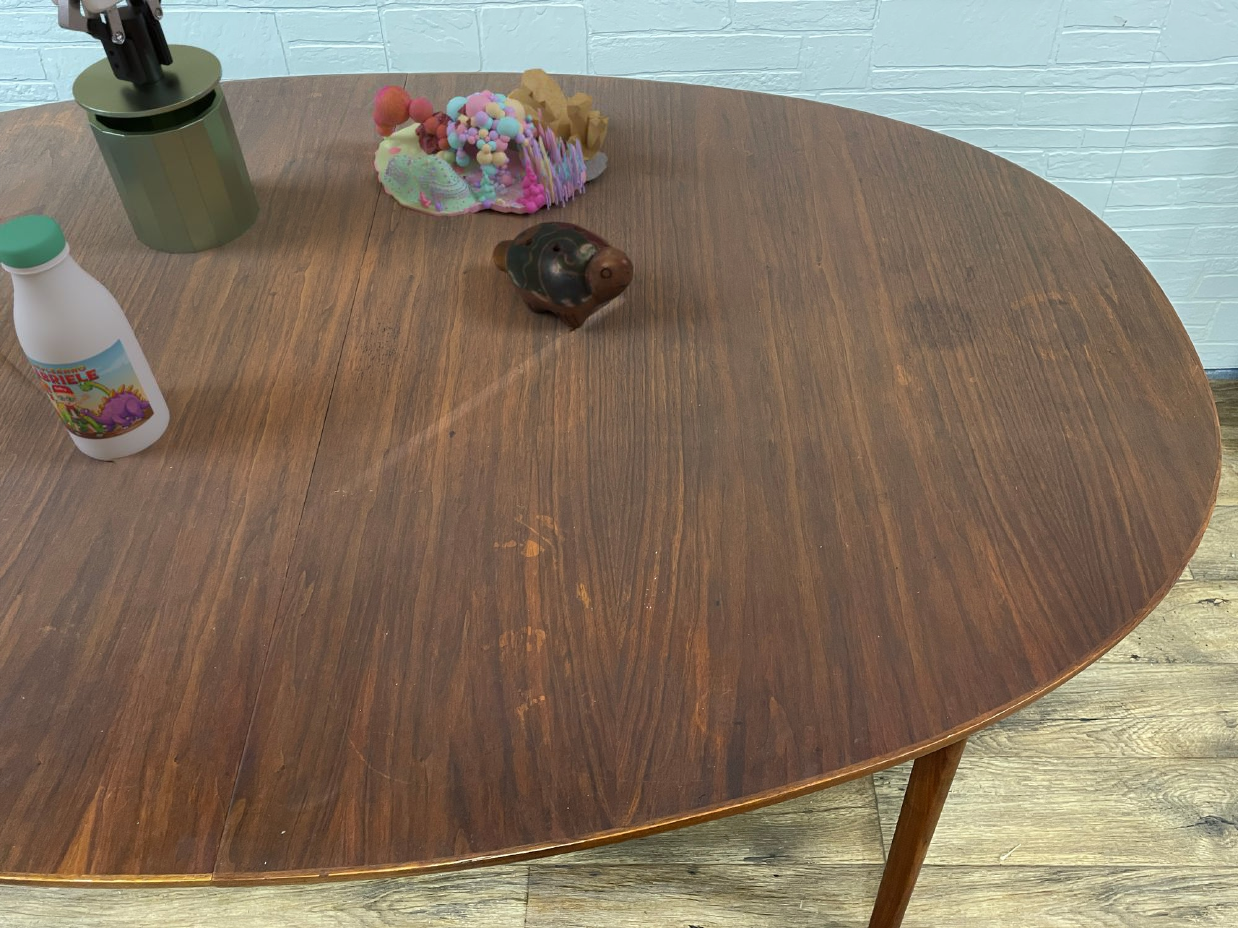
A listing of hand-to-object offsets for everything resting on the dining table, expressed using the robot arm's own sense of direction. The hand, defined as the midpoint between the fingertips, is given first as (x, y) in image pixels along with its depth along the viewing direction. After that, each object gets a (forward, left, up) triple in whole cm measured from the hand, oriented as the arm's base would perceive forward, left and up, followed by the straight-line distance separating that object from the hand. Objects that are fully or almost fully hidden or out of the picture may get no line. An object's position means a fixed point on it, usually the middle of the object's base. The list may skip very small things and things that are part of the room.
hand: (144, 69), depth 97 cm
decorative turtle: (+16, -38, -17) cm, 45 cm away
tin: (0, 0, -17) cm, 17 cm away
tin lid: (0, 0, -1) cm, 1 cm away
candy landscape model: (+28, -15, -17) cm, 36 cm away
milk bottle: (-21, -22, -17) cm, 35 cm away
